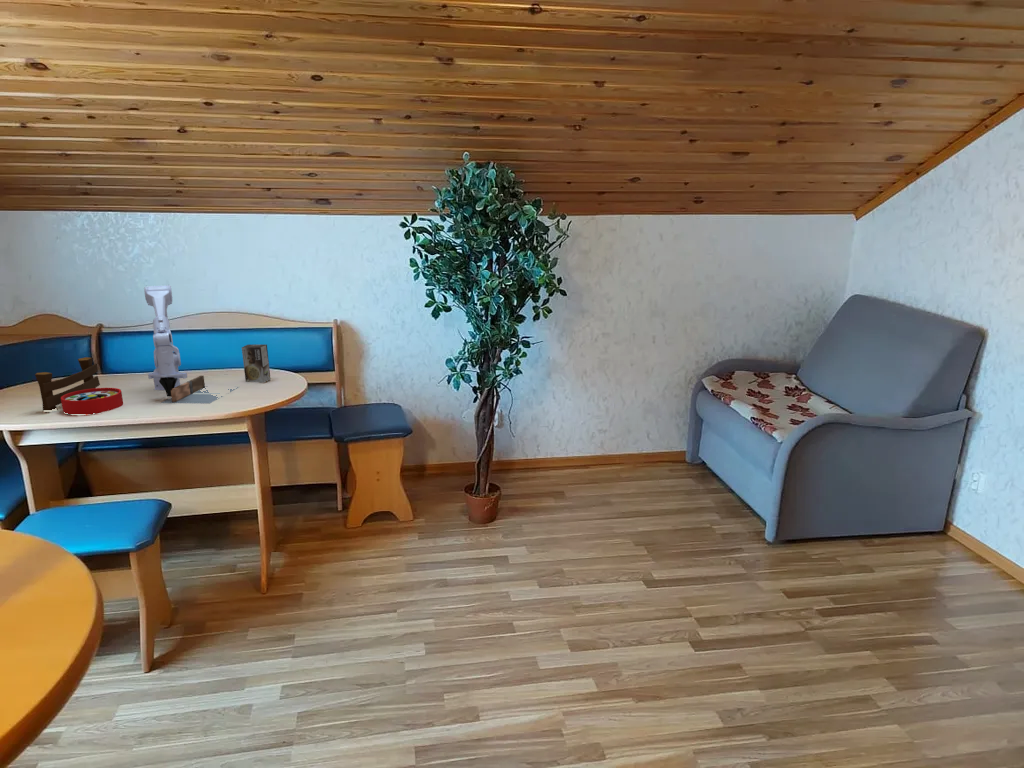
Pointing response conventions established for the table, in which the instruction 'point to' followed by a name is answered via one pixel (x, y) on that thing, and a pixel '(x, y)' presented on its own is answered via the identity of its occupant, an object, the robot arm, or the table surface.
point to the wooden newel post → (180, 391)
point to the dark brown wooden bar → (196, 384)
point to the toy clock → (92, 401)
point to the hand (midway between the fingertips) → (170, 395)
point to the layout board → (197, 398)
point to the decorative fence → (66, 383)
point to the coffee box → (256, 363)
